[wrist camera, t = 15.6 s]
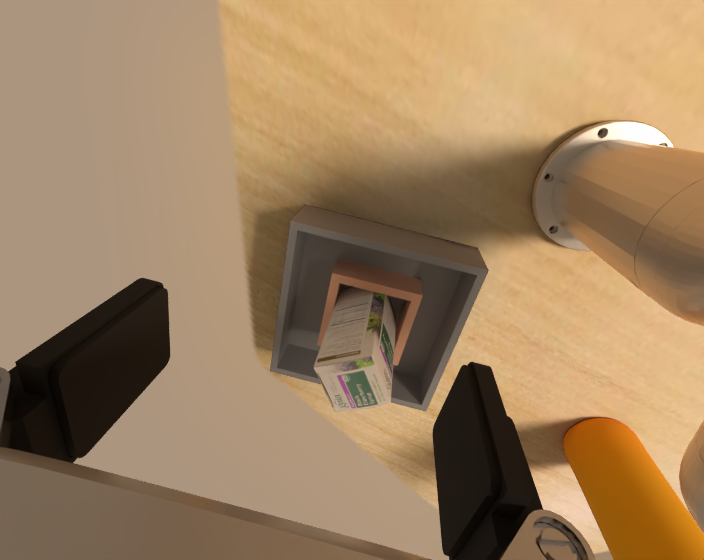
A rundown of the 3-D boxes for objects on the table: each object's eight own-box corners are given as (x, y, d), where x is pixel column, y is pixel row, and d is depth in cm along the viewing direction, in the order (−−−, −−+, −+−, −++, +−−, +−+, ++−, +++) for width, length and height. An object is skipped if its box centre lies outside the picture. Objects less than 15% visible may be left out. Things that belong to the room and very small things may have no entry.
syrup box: (397, 317, 44) (395, 405, 31) (353, 327, 46) (333, 415, 33) (383, 277, 42) (374, 355, 29) (337, 289, 44) (310, 368, 31)
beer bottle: (629, 460, 51) (857, 822, 25) (559, 462, 53) (705, 800, 27) (636, 413, 47) (912, 784, 22) (560, 417, 49) (731, 761, 24)
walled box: (477, 247, 40) (488, 270, 35) (423, 377, 49) (426, 411, 44) (305, 204, 40) (290, 220, 35) (284, 342, 50) (269, 371, 44)
